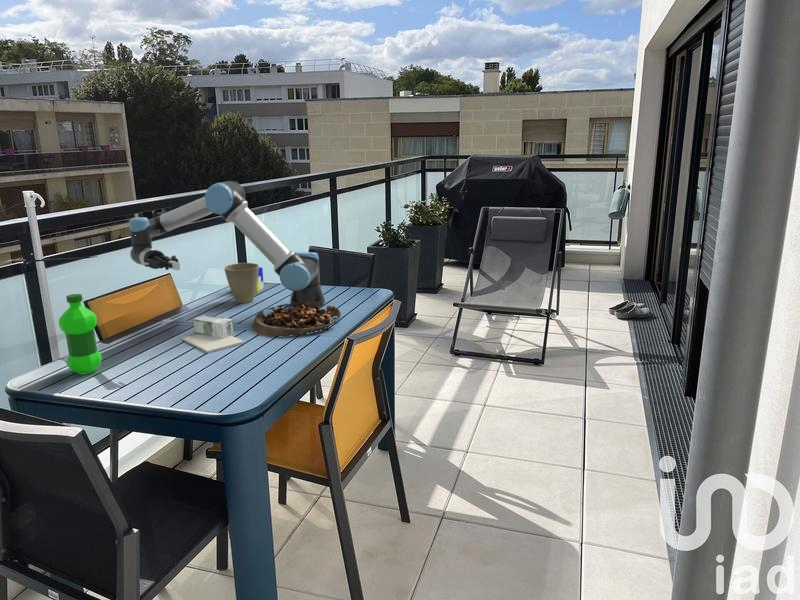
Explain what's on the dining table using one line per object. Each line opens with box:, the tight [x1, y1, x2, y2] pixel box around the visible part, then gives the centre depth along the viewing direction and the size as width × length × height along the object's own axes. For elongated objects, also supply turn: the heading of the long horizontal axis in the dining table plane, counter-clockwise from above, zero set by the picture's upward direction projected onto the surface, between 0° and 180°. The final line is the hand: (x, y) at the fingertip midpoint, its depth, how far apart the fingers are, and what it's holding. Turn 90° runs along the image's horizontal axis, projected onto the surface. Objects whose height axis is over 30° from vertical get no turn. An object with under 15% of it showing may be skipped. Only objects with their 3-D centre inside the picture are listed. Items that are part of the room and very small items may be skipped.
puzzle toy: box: [255, 266, 265, 293], centre depth 293 cm, size 10×10×10 cm
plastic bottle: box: [58, 293, 103, 375], centre depth 191 cm, size 10×10×25 cm
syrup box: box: [192, 314, 234, 338], centre depth 226 cm, size 6×6×14 cm
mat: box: [181, 333, 245, 354], centre depth 220 cm, size 20×14×1 cm
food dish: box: [251, 302, 342, 337], centre depth 239 cm, size 35×33×8 cm
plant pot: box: [223, 262, 260, 304], centre depth 272 cm, size 15×15×16 cm
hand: (177, 266), depth 230 cm, fingers closed
